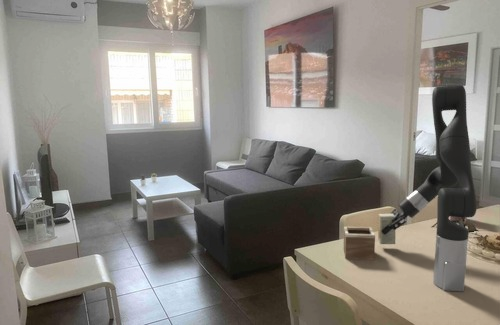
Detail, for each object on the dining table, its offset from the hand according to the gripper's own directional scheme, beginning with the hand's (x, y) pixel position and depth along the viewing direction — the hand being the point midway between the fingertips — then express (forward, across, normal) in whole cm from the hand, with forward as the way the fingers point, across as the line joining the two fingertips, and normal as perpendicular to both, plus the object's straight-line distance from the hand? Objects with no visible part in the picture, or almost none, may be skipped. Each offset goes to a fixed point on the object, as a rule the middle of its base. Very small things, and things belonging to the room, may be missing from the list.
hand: (381, 230), depth 155 cm
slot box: (+13, +8, -2) cm, 15 cm away
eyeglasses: (-20, -26, +31) cm, 45 cm away
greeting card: (-28, -41, +38) cm, 62 cm away
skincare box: (+2, 0, +5) cm, 6 cm away
